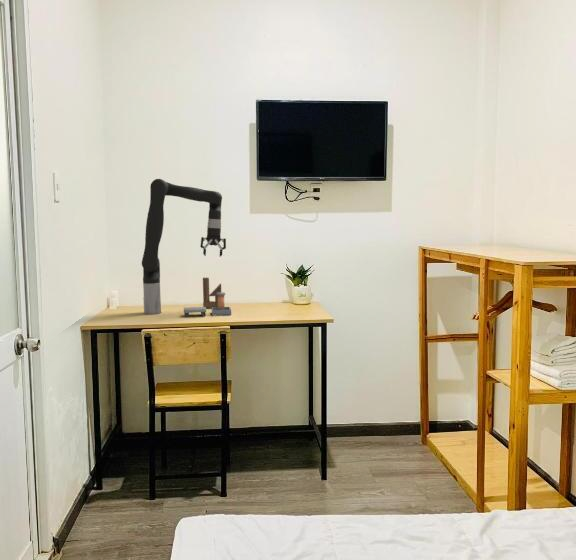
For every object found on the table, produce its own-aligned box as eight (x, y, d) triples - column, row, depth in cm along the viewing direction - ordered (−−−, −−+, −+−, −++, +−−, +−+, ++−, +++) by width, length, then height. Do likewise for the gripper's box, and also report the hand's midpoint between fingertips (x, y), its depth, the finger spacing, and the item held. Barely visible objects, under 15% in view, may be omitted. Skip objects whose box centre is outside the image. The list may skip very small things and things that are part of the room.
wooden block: (221, 307, 346) (221, 277, 344) (203, 308, 344) (202, 278, 342) (221, 306, 350) (220, 276, 348) (203, 307, 348) (202, 277, 346)
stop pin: (217, 313, 324) (216, 293, 322) (216, 312, 328) (216, 292, 327) (225, 313, 324) (225, 293, 323) (225, 312, 329) (224, 292, 327)
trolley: (183, 317, 317) (183, 310, 316) (184, 314, 325) (183, 307, 324) (206, 316, 319) (206, 309, 318) (205, 313, 327) (205, 306, 326)
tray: (212, 315, 320) (212, 310, 320) (211, 312, 330) (211, 307, 330) (231, 315, 322) (231, 309, 322) (229, 311, 332) (229, 306, 332)
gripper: (201, 226, 326) (200, 255, 327) (227, 228, 328) (225, 257, 329) (201, 226, 333) (199, 255, 334) (226, 228, 336) (224, 256, 337)
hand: (212, 256), depth 332 cm, fingers open, 8 cm apart
